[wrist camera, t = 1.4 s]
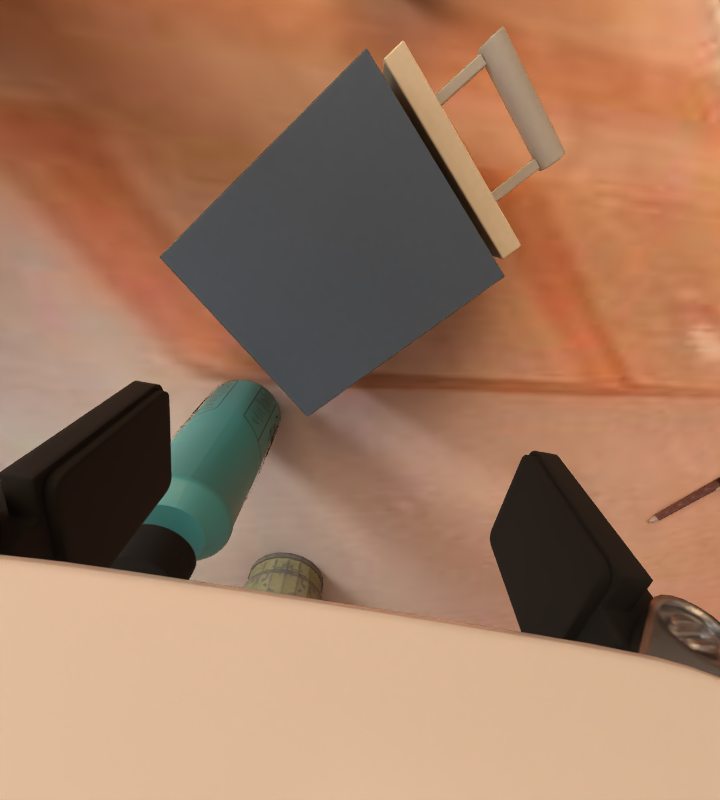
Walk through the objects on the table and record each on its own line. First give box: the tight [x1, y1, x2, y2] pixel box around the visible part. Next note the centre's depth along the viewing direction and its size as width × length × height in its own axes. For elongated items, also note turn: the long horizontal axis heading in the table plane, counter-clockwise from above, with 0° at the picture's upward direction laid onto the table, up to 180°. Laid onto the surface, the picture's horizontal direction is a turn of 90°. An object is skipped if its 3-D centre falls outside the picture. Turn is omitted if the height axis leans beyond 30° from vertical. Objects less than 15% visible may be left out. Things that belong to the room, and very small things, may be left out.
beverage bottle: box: [109, 380, 281, 580], centre depth 27 cm, size 6×7×20 cm
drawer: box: [383, 27, 565, 259], centre depth 25 cm, size 18×11×8 cm, turn 128°
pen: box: [649, 478, 720, 522], centre depth 39 cm, size 11×1×1 cm, turn 135°
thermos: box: [243, 553, 323, 600], centre depth 30 cm, size 9×12×35 cm
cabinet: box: [160, 49, 504, 416], centre depth 26 cm, size 15×13×10 cm
